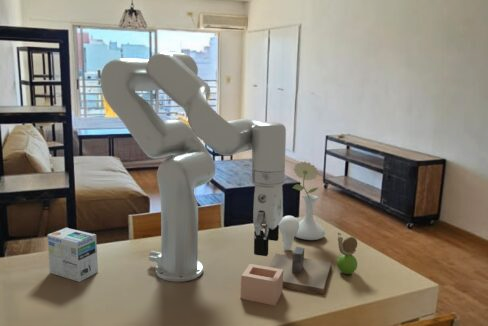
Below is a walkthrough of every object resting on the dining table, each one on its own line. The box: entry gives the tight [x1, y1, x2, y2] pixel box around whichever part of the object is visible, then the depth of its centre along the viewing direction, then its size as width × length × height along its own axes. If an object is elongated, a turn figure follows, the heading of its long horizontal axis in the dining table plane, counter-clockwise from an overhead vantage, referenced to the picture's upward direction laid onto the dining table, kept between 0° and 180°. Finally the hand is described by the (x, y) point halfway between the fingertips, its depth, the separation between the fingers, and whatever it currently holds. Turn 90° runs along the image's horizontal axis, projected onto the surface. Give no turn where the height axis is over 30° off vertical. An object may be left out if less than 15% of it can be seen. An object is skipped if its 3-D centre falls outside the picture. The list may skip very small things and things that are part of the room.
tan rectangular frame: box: [240, 263, 283, 306], centre depth 106 cm, size 7×9×6 cm
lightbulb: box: [278, 215, 300, 251], centre depth 132 cm, size 6×6×11 cm
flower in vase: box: [292, 161, 326, 241], centre depth 143 cm, size 13×11×25 cm
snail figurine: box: [336, 232, 358, 275], centre depth 118 cm, size 5×6×12 cm
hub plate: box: [267, 246, 332, 295], centre depth 117 cm, size 16×16×7 cm
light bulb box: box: [47, 227, 99, 283], centre depth 113 cm, size 11×7×11 cm, turn 65°
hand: (266, 247), depth 103 cm, fingers open, 9 cm apart
